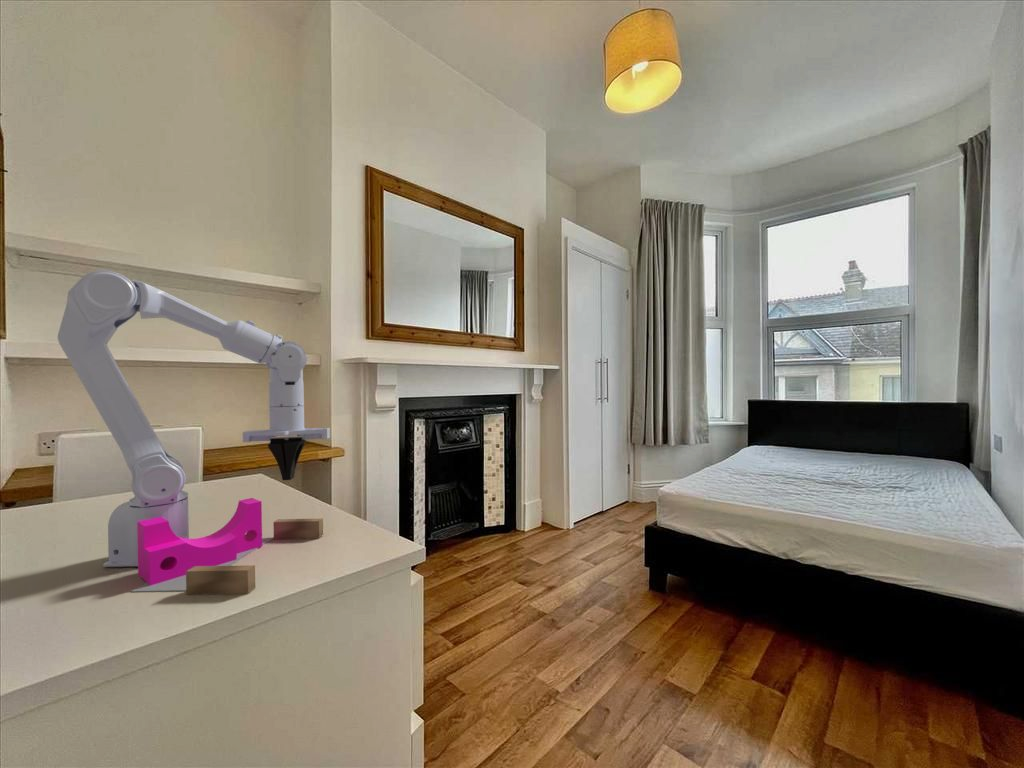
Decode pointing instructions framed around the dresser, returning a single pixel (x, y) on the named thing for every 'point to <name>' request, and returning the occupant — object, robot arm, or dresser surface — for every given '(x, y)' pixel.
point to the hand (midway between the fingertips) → (288, 479)
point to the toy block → (196, 544)
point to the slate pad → (180, 582)
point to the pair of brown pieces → (244, 576)
